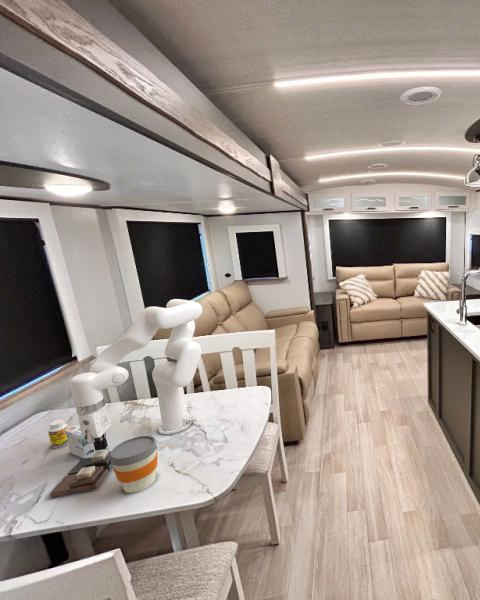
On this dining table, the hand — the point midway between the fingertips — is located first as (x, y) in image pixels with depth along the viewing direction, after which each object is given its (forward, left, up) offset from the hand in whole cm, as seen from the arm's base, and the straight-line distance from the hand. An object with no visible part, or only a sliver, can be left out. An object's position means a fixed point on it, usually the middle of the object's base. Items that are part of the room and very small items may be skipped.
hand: (101, 448), depth 119 cm
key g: (+1, +10, -4) cm, 10 cm away
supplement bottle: (+24, -20, -7) cm, 32 cm away
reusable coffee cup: (-16, +15, -7) cm, 23 cm away
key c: (+1, +1, -4) cm, 4 cm away
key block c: (+3, +1, -7) cm, 8 cm away
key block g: (+3, +10, -7) cm, 12 cm away
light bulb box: (+11, -11, -7) cm, 17 cm away
